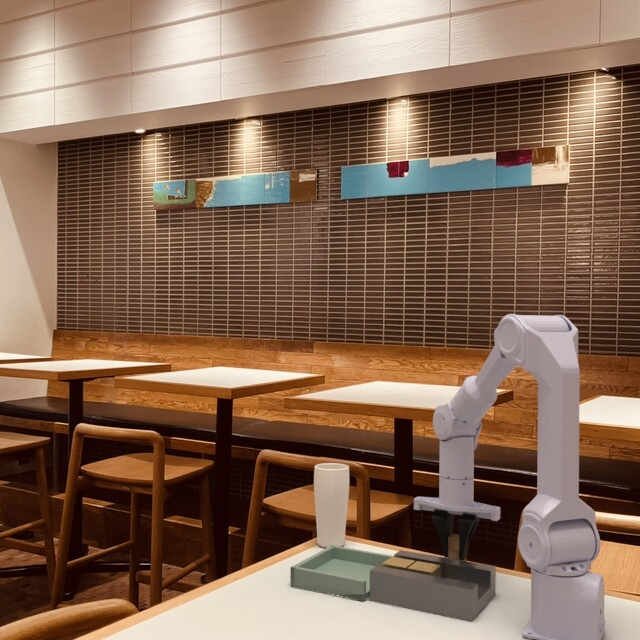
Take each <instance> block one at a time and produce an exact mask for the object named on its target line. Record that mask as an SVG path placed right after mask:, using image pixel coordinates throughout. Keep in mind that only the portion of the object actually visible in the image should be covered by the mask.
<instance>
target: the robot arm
mask: <svg viewBox="0 0 640 640" xmlns="http://www.w3.org/2000/svg"><path fill="white" fill-rule="evenodd" d="M493 341H494V346H493V347H492V349H491V352H490V353H489V355H488V357H487V358H486V360H485V361H484V364H483V365H482V366H481V369H480V370H479V372H478V374H477V375H470V376H468V377H465V378H464V381H463V383H462V385H461V386H460V387H459V389H458V390H457V392H456V393H455V395H454V396H453V398H452V399H451V400H450V402H446V403H445V404H440V405H438V406H436V408H435V410H434V413H433V416H432V427H433V431H434V433H435V435H436V437H437V439H439V466H438V467H439V471H438V473H439V475H438V476H439V479H438V480H439V481H438V482H439V484H438V485H439V486H438V489H439V491H438V494H439V495H438V497H431V496H416V497H415V498H413V510H415V511H421V510H422V511H431V512H433V515H431V521H432V524H433V525H434V527H435V529H436V531H437V534H438V536H439V539H440V542H441V546H442V551H443V557H444V558H448V536H450V535H451V534H454V533H453V531H454V523H455V521H454V520H455V515H457V516H458V515H459V516H461V517H459V518H458V519H456V520H457V528H458V535H459V560H464V559H466V560H467V558H468V552H469V549H470V548H469V547H470V545H471V544H470V543H471V540H472V538H473V535H474V533H475V530H476V529H477V526H478V524H479V522H480V521H481V519H486V520H487V519H488V520H491V521H492V522H498V521H499V520H500V519H501V507H500V506H496V505H491V504H486V503H481V502H477V501H474V498H475V497H474V490H475V489H474V486H475V483H474V482H475V481H474V480H475V477H474V475H475V473H474V472H475V469H474V467H475V463H474V462H475V461H474V460H475V450H476V449H477V447H478V439H479V436H480V435H481V432H482V427H483V425H482V424H483V423H482V422H481V421H482V419H483V418H484V417H485V415H486V414H487V413H488V412H489V410H490V409H491V407H492V406H493V405H494V403H496V401H497V400H498V399H497V398H498V390H497V388H498V387H499V386H500V384H501V383H503V381H504V380H506V378H508V376H509V375H510V374H511V373H512V372H513V371H514V370H515V369H516V368H517V366H518V367H520V368H521V369H522V370H524V371H525V372H528V373H529V374H531V376H532V377H533V378H534V379H535V380H536V381H537V465H536V466H537V470H536V471H537V472H536V473H537V478H536V479H537V481H536V482H537V483H536V485H537V486H536V490H537V491H536V493H537V494H536V495H535V497H534V498H532V500H531V501H530V502H529V503H528V504H527V505H526V506H525V507H524V509H523V510H522V521H521V526H520V528H519V531H518V535H517V545H518V550H519V553H520V555H521V558H522V559H523V560H524V562H525V563H526V567H528V568H530V572H531V575H530V576H531V577H530V578H531V579H530V583H531V584H530V621H529V622H528V624H527V625H526V627H525V628H524V629H523V631H522V634H521V635H522V637H524V638H528V639H532V640H602V638H603V636H604V635H605V632H606V628H605V627H606V625H605V624H606V623H605V622H606V620H605V580H604V576H603V575H602V574H598V573H594V572H591V571H590V570H592V562H593V561H594V562H595V560H596V559H597V558H598V556H599V554H600V551H601V538H600V533H599V531H598V527H597V522H596V521H597V520H596V511H595V509H593V508H592V507H591V506H589V505H588V504H587V503H585V501H583V500H582V499H581V498H580V497H579V496H580V494H579V492H580V490H579V489H580V488H579V487H580V485H579V484H580V480H579V479H580V380H581V379H580V376H581V375H580V365H579V329H578V328H577V326H576V325H574V323H572V321H571V320H570V319H569V318H568V317H566V316H565V315H562V314H554V315H536V314H535V315H534V314H533V315H530V314H529V315H526V314H524V315H523V314H515V313H508V314H506V315H504V316H503V317H502V318H501V320H500V321H499V323H498V326H497V327H496V328H495V330H494V332H493Z"/></svg>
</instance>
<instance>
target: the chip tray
mask: <svg viewBox="0 0 640 640" xmlns="http://www.w3.org/2000/svg"><path fill="white" fill-rule="evenodd" d="M391 557H394V555H391V554H385V553H379V552H373V551H366V550H361V549H355V548H351V547H345V546H342V547H339V546H333V545H331V546H330V547H328V548H324V549H323V550H320V551H318V552H317V553H315V554H312V555H311V556H309V557H307V558H304V559H303V560H301V561H300V562H298V563H296V564H294V565H292V566H291V567H290V577H289V579H290V587H292V588H297V589H301V588H302V590H306V589H308V591H311V590H313V591H312V592H316V591H318V592H317V593H320V592H323V593H322V594H325V593H329V594H328V595H330V594H334V595H333V596H335V595H339V596H342V597H341V598H344V597H348V598H347V599H349V598H351V599H350V600H354V599H355V601H358V600H362V601H361V602H363V601H364V602H365V601H367V600H368V599H370V570H371V569H373V568H374V567H376V566H382V563H383V562H385V561H386V560H388V559H389V558H391ZM339 596H338V597H339ZM367 598H368V599H367ZM366 599H367V600H366Z"/></svg>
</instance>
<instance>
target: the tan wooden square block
mask: <svg viewBox="0 0 640 640" xmlns="http://www.w3.org/2000/svg"><path fill="white" fill-rule="evenodd" d="M414 563H415V561H414V560H408V559H402V558H397V557H391V558H389V559H388V560H386V561H385V562H383V563H382V567H388V568H393V569H399V570H404V571H407V568H408V567H410V566H411V565H412V564H414Z"/></svg>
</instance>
